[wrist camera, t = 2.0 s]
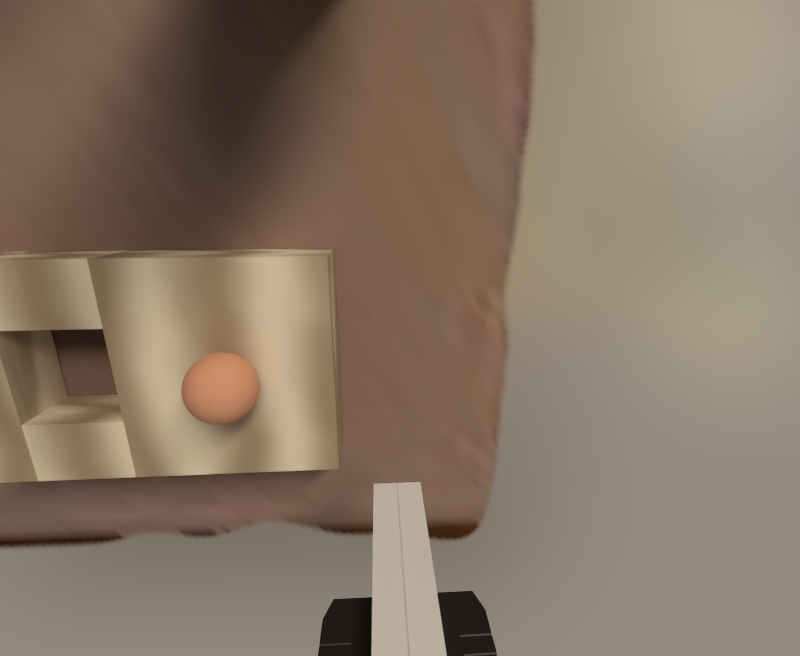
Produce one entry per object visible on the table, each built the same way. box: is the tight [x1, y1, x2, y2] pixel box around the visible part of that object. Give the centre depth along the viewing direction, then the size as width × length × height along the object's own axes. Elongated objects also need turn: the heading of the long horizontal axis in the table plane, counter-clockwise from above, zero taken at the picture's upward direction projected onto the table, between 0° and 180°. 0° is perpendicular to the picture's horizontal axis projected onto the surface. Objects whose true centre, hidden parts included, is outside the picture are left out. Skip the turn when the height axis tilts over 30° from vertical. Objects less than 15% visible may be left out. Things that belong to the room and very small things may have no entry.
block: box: [0, 249, 343, 483], centre depth 26 cm, size 22×14×4 cm, turn 90°
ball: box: [181, 352, 260, 425], centre depth 23 cm, size 4×4×4 cm
